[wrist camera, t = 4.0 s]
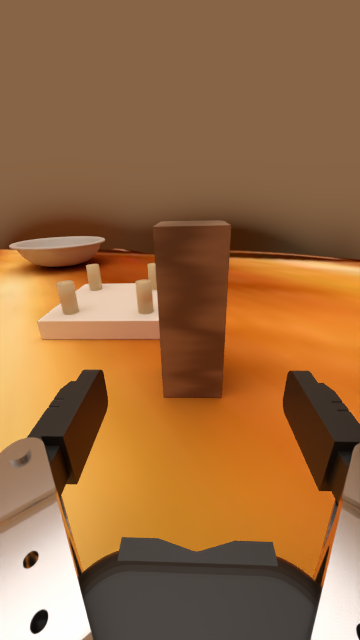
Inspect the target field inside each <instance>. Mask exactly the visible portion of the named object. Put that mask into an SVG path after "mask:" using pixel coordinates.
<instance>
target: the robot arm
mask: <svg viewBox="0 0 360 640" xmlns="http://www.w3.org/2000/svg"><path fill="white" fill-rule="evenodd" d="M107 406H108V396H107V390H106V385H105V379H104V374H103V371H102V370H83V371H82V373H81V374H80V376H79V377H78V379H77V380H76V381H71V382H69V383H68V384H67V385H65V386H64V387H63V388H62V389H60V391H59V392H58V394H57V395H56V397H55V398H54V400H53V401H52V402H51V404H50V405H49V408H47V410H46V411H45V412H44V414H43V415H42V417H41V418H40V420H39V421H38V422H37V424H36V425H35V427H34V428H33V430H32V431H31V432H30V434H29V435H28V437H27V438H24V439H21V440H18V441H16V442H14V443H12V444H11V445H9V446H8V447H7V448H5V449H4V450H3V451H2V452H1V453H0V640H360V424H359V423H358V421H357V420H356V419H355V418H354V416H353V415H352V414H351V412H349V411H348V408H347V407H346V406H345V404H344V403H342V400H341V399H340V398H339V397H338V395H337V394H336V393H335V391H333V390H332V389H330V388H329V387H328V386H326V385H325V384H324V383H318V382H317V381H316V380H315V378H314V377H313V375H312V374H311V373H310V372H309V371H289V372H288V375H287V380H286V386H285V391H284V397H283V409H284V413H285V416H286V418H287V420H288V422H289V425H290V427H291V429H292V431H293V434H294V436H295V438H296V440H297V443H298V445H299V447H300V449H301V452H302V454H303V456H304V458H305V461H306V463H307V465H308V467H309V469H310V472H311V474H312V476H313V478H314V481H315V483H316V485H317V487H318V490H319V491H332V493H333V495H334V497H335V502H334V504H333V508H332V512H331V516H330V519H329V523H328V527H327V531H326V535H325V538H324V542H323V546H322V550H321V554H320V557H319V561H318V564H317V567H316V570H315V573H314V577H313V579H312V578H311V577H310V576H309V575H308V574H306V573H305V572H304V571H303V570H301V569H300V568H298V567H297V566H295V565H294V564H292V563H290V562H288V561H286V560H284V559H282V558H280V557H277V556H276V554H275V550H274V546H273V542H254V541H233V542H230V543H226V544H223V545H219V546H216V547H213V548H209V549H206V550H203V551H199V552H195V551H191V550H189V549H186V548H183V547H180V546H178V545H175V544H172V543H169V542H167V541H164V540H161V539H158V538H126V537H122V540H121V545H120V549H119V551H117V552H114V553H111V554H109V555H107V556H105V557H103V558H101V559H100V560H98V561H96V562H95V563H94V564H92V565H91V566H90V567H88V568H87V569H86V570H85V571H84V572H83V569H82V566H81V562H80V559H79V556H78V553H77V549H76V546H75V542H74V539H73V535H72V531H71V528H70V524H69V520H68V517H67V513H66V509H65V506H64V502H63V499H62V495H61V494H62V492H63V489H64V487H65V485H66V484H77V483H78V481H79V478H80V476H81V473H82V471H83V468H84V466H85V463H86V461H87V458H88V456H89V453H90V451H91V448H92V446H93V443H94V441H95V438H96V436H97V433H98V431H99V429H100V426H101V424H102V421H103V419H104V416H105V414H106V411H107Z"/></svg>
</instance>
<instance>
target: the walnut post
mask: <svg viewBox="0 0 360 640" xmlns="http://www.w3.org/2000/svg"><path fill="white" fill-rule="evenodd" d="M153 234H154V251H155V267H156V283H157V299H158V315H159V331H160V347H161V363H162V379H163V395H164V397H178V398H222V380H223V361H224V343H225V325H226V307H227V289H228V271H229V253H230V235H231V225H230V224H228V223H226V222H224V221H223V220H215V221H172V222H171V221H170V222H160V223H158V224H157V225H155V226H154V227H153Z"/></svg>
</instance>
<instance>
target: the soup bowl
mask: <svg viewBox="0 0 360 640" xmlns="http://www.w3.org/2000/svg"><path fill="white" fill-rule="evenodd" d="M104 241H105V239H104V238H101V237H91V236H77V237H76V236H75V237H57V238H43V239H35V240H28V241H22V242H17V243H13V244H11V245H10V246H9V247H10V248H11V249H15V250H17V251H18V252H19V253H20V254H21V255H22V256H23V257H24V258H25V259H27V260H28V261H30V262H32V263H34V264H36V265H40V266H46V267H63V266H71V265H76V264H80V263H83V262H86V261H88V260H89V259H91V258H92V257H93V256H94V255H95V254H96V252H97V251H98V249H99V246H100V243H102V242H104Z"/></svg>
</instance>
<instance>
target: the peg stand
mask: <svg viewBox="0 0 360 640" xmlns="http://www.w3.org/2000/svg"><path fill="white" fill-rule="evenodd" d="M86 270H87V275H88V281H89V284H85V285H83V286H82V287H81V288H80V289H78V290H77V291H76V292H75V288H74V283H73V281H69V280H68V281H61V282H58V283H56V285H57V289H58V293H59V298H60V302H61V303H60V304H59V305H58V306H56V307H55V308H54V309H52V310H51V311H50V312H48V313H47V314H46V315H45V316H43V317H42V318H41V319H39V320H38V321H37V324H38V327H39V331H40V334H41V338H42V339H160V331H159V315H158V299H157V283H156V267H155V263H150V264H148V277H149V280H138V281H136V282H135V283H134V284H102V283H101V276H100V270H99V264H89V265H86Z"/></svg>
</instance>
